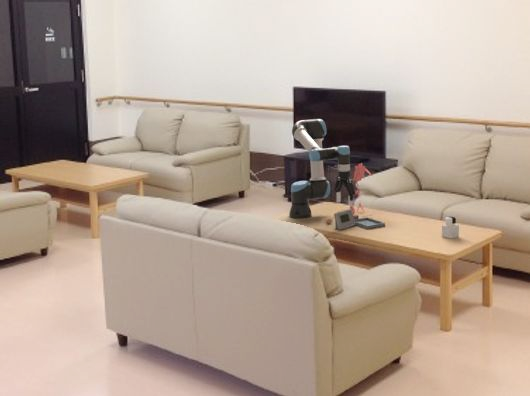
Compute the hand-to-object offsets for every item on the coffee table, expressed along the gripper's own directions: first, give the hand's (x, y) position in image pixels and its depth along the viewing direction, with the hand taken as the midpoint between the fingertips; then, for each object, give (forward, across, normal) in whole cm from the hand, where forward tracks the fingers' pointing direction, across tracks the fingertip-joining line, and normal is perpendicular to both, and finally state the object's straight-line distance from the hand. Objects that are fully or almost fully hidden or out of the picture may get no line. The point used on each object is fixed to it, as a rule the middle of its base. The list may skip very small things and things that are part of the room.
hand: (344, 203), depth 497 cm
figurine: (+15, -24, +29) cm, 41 cm away
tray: (+15, +3, +15) cm, 22 cm away
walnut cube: (+15, -10, +14) cm, 23 cm away
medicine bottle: (+16, +56, +38) cm, 69 cm away
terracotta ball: (+15, -14, -3) cm, 21 cm away
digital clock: (+16, 0, 0) cm, 16 cm away
